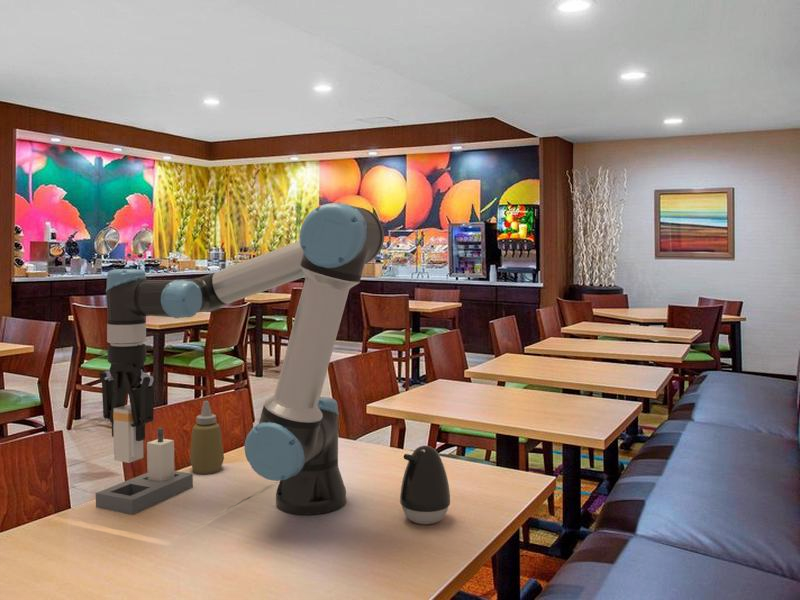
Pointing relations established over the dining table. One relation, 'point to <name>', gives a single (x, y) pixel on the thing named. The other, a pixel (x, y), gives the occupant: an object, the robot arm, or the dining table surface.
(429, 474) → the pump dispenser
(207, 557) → the dining table surface
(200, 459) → the squeeze bottle
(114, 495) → the grey flat block
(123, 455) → the plug
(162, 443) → the twin plug
